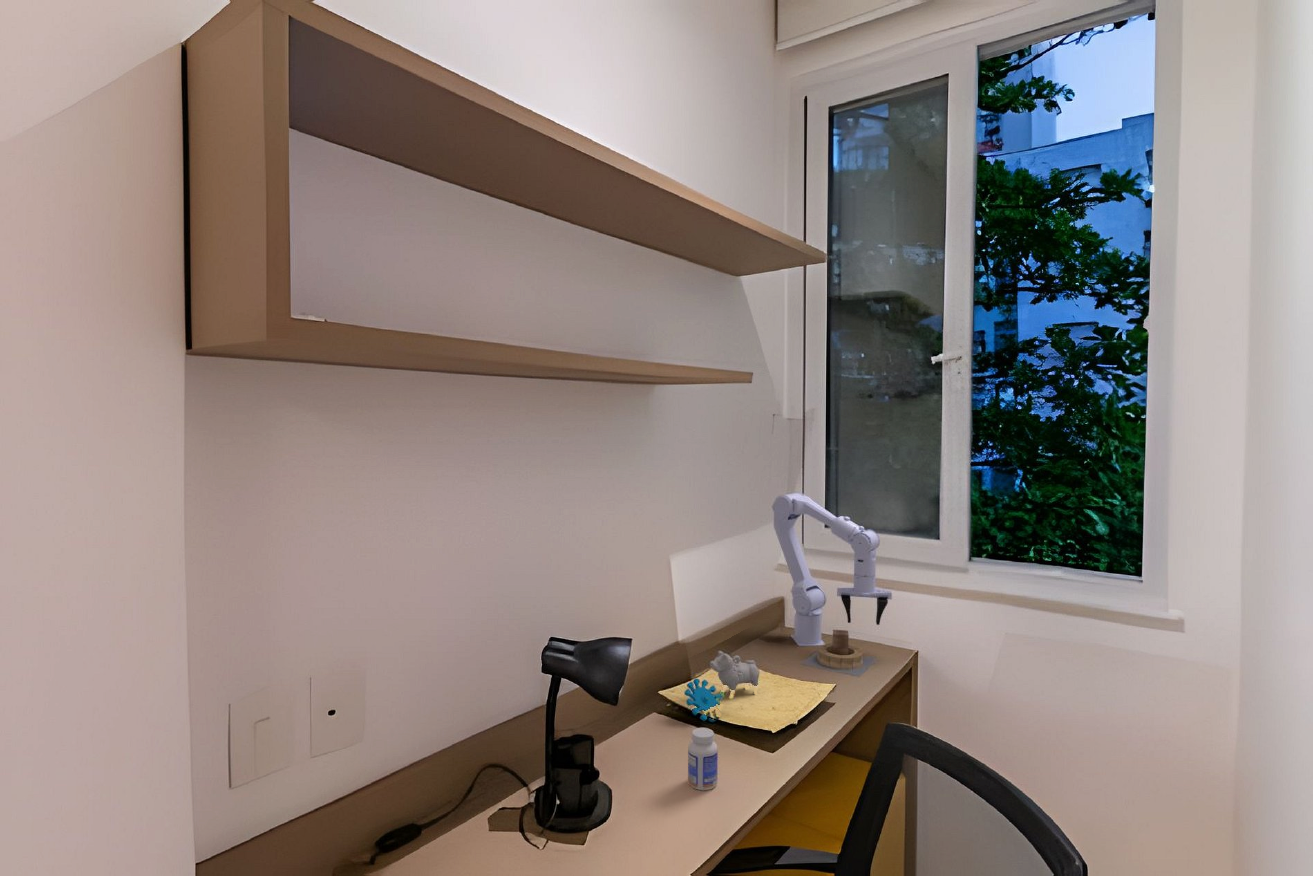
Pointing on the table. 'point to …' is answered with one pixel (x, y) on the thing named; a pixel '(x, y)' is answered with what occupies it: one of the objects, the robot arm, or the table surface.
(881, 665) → the table surface
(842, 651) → the walnut peg
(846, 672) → the craft mat
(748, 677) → the grey dog figurine
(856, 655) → the tan stone ring
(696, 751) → the pill bottle
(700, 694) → the blue knobby piece
